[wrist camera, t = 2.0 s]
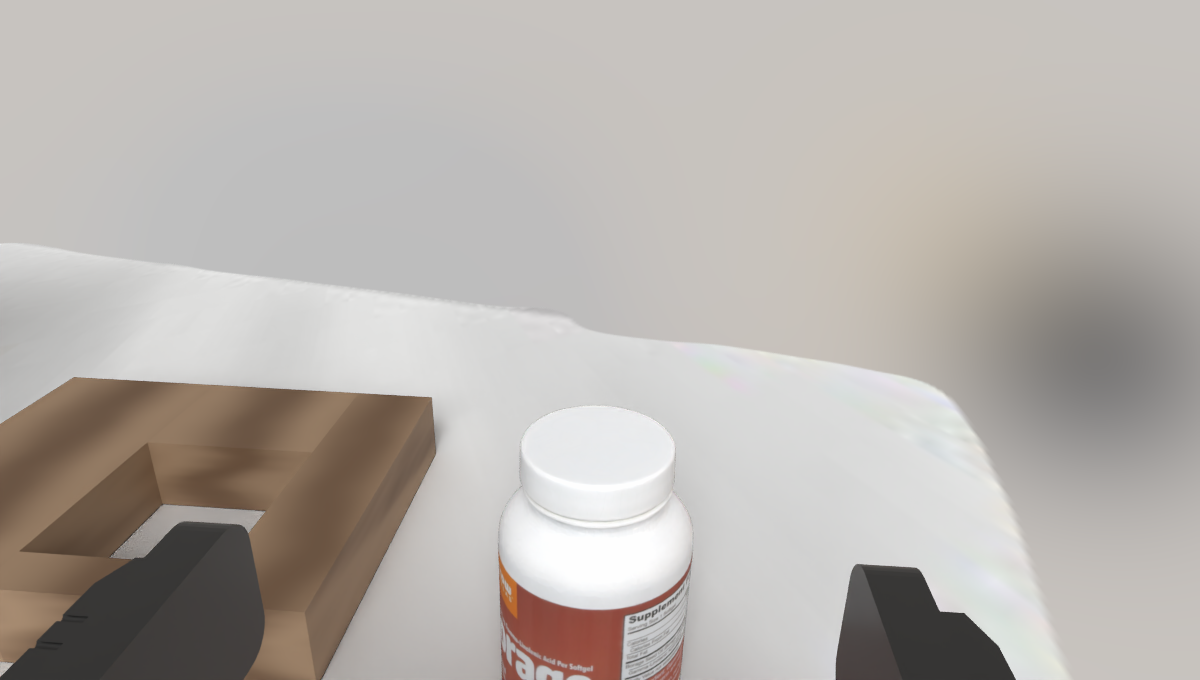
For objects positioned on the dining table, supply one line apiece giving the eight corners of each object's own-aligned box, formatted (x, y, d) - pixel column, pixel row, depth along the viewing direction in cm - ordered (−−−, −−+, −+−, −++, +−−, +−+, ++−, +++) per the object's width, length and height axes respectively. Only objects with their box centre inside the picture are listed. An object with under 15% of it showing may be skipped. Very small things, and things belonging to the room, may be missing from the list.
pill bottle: (468, 702, 28) (451, 433, 23) (596, 620, 32) (602, 375, 27) (581, 829, 24) (588, 531, 19) (713, 717, 28) (743, 447, 23)
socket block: (-197, 645, 30) (-234, 572, 28) (89, 432, 44) (74, 377, 43) (317, 687, 28) (304, 612, 27) (435, 453, 43) (431, 397, 42)
